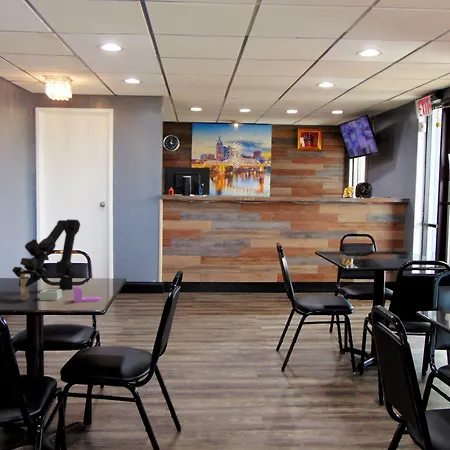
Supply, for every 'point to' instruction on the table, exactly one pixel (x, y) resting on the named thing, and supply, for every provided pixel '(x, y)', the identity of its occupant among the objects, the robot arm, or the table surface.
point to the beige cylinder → (24, 287)
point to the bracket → (79, 297)
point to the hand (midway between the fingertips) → (22, 286)
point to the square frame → (51, 294)
